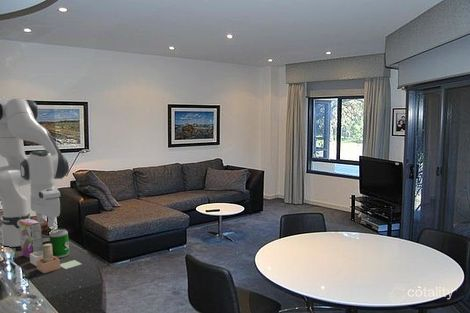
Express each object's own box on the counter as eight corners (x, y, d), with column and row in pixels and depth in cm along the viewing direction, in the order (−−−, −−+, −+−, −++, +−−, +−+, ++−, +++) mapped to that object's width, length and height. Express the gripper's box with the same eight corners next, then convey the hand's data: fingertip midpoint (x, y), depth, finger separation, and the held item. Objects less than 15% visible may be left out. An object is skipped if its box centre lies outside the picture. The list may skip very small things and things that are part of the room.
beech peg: (42, 268, 166) (40, 245, 165) (51, 266, 169) (49, 243, 168) (46, 271, 164) (44, 247, 163) (55, 268, 167) (53, 245, 166)
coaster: (58, 266, 171) (58, 264, 171) (74, 261, 176) (74, 260, 176) (65, 270, 166) (65, 268, 166) (82, 265, 171) (82, 264, 171)
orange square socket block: (37, 270, 166) (36, 259, 166) (53, 265, 171) (52, 255, 171) (44, 274, 162) (43, 263, 161) (60, 269, 167) (59, 259, 166)
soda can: (62, 260, 178) (60, 233, 176) (47, 259, 179) (45, 232, 178) (72, 254, 185) (71, 228, 184) (58, 253, 186) (56, 227, 185)
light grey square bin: (30, 263, 174) (29, 253, 173) (46, 259, 179) (45, 249, 178) (36, 267, 170) (35, 257, 169) (52, 263, 174) (51, 253, 174)
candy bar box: (20, 255, 184) (17, 220, 182) (31, 252, 188) (29, 218, 186) (33, 261, 177) (30, 224, 175) (44, 257, 181) (41, 221, 179)
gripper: (25, 189, 168) (27, 221, 169) (45, 195, 154) (48, 231, 155) (40, 186, 172) (43, 218, 174) (62, 192, 158) (64, 227, 160)
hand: (45, 224), depth 164 cm, fingers open, 8 cm apart
